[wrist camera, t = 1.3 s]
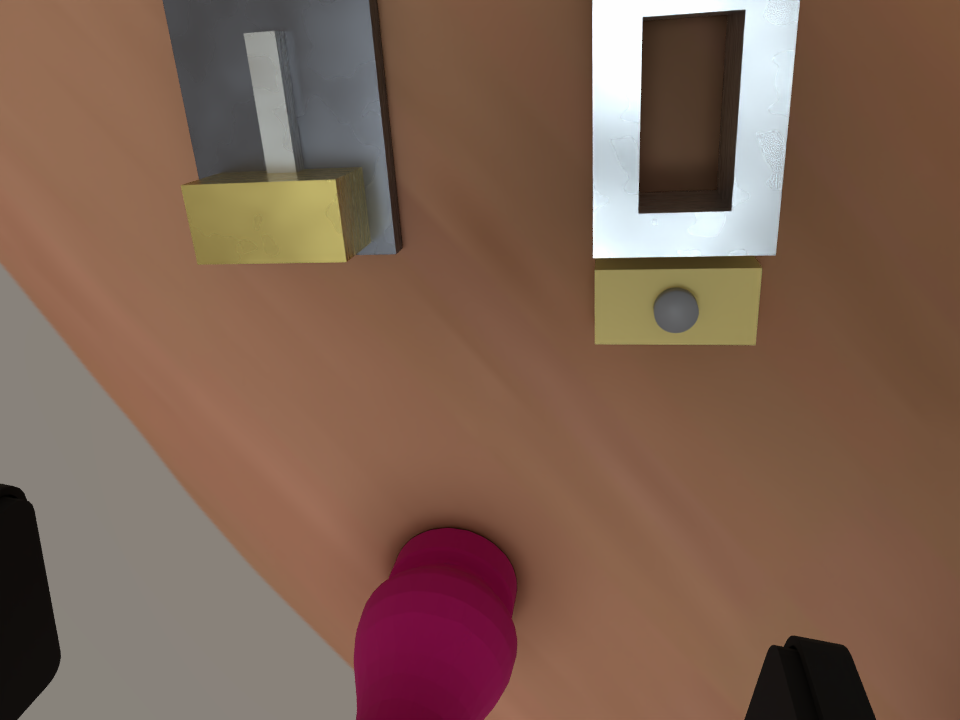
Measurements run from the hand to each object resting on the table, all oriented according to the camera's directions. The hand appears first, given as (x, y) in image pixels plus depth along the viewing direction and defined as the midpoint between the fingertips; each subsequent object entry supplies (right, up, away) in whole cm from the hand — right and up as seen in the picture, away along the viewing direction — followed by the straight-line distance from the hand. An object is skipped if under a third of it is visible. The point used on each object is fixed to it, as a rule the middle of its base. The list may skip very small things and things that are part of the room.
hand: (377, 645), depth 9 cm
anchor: (+9, +6, +20) cm, 23 cm away
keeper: (-6, +18, +18) cm, 26 cm away
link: (+9, +13, +18) cm, 23 cm away
